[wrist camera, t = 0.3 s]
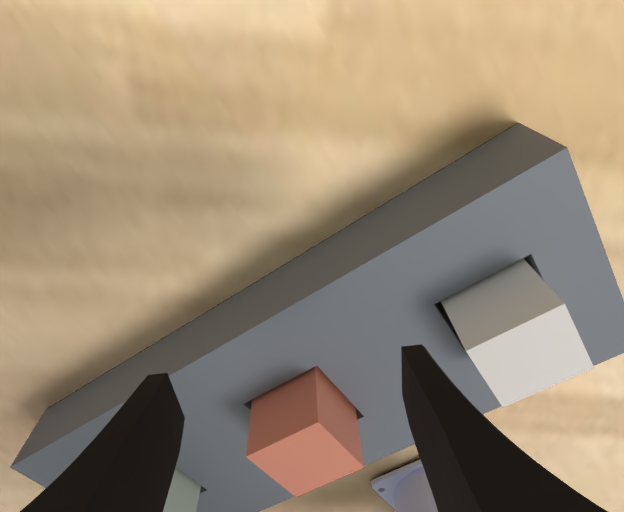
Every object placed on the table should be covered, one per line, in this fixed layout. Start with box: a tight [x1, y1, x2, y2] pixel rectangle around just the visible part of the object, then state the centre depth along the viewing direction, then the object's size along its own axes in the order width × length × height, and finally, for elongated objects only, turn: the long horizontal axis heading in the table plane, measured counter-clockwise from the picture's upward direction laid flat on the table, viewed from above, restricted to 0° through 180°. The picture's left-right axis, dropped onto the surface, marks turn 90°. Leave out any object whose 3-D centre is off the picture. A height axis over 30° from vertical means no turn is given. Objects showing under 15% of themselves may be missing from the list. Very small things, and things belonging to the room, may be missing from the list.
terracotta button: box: [246, 366, 364, 497], centre depth 22 cm, size 4×4×4 cm
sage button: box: [163, 467, 201, 512], centre depth 25 cm, size 4×4×4 cm
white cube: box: [441, 258, 594, 407], centre depth 19 cm, size 4×4×4 cm
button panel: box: [11, 123, 624, 512], centre depth 24 cm, size 12×32×4 cm, turn 124°
